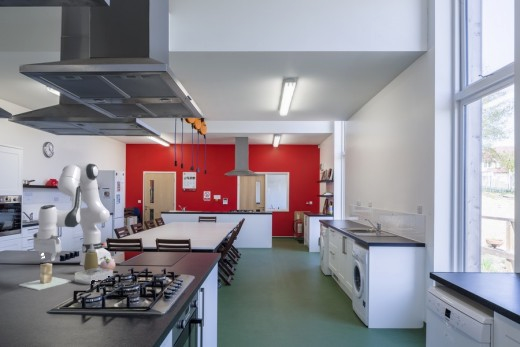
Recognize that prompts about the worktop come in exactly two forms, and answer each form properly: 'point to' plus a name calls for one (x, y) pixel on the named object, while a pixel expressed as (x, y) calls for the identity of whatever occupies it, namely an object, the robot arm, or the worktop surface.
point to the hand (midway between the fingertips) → (47, 259)
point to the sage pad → (39, 286)
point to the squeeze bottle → (91, 258)
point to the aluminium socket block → (92, 275)
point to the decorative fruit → (107, 264)
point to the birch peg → (45, 273)
